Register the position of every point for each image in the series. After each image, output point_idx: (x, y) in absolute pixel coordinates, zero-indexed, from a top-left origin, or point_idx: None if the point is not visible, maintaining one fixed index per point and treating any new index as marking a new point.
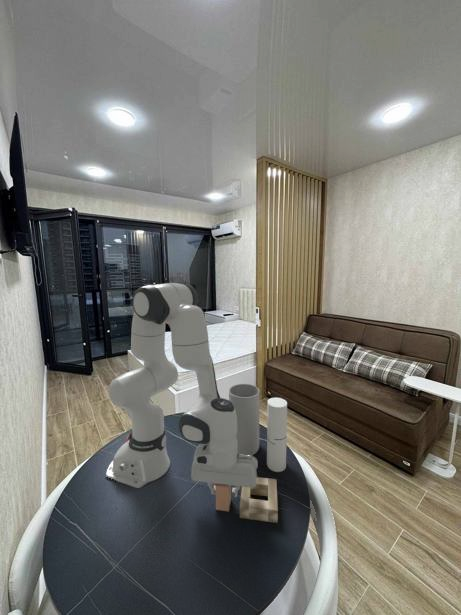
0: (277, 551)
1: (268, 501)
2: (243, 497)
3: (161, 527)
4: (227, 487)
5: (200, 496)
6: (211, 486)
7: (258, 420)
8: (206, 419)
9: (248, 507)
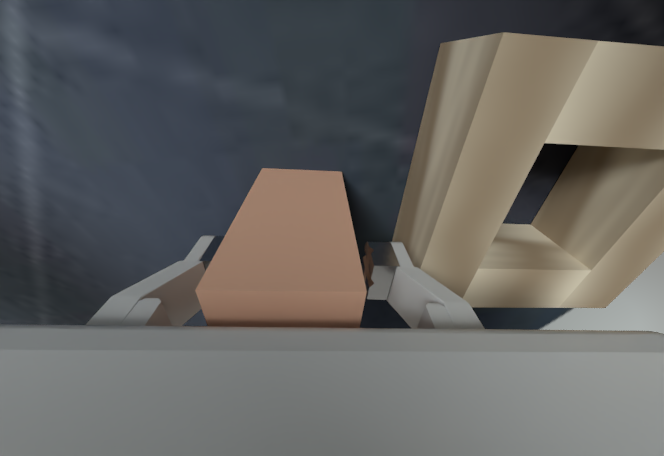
0: (495, 325)
1: (590, 274)
2: (439, 267)
3: (75, 313)
4: None
5: (139, 168)
6: (186, 314)
7: None
8: None
9: None
